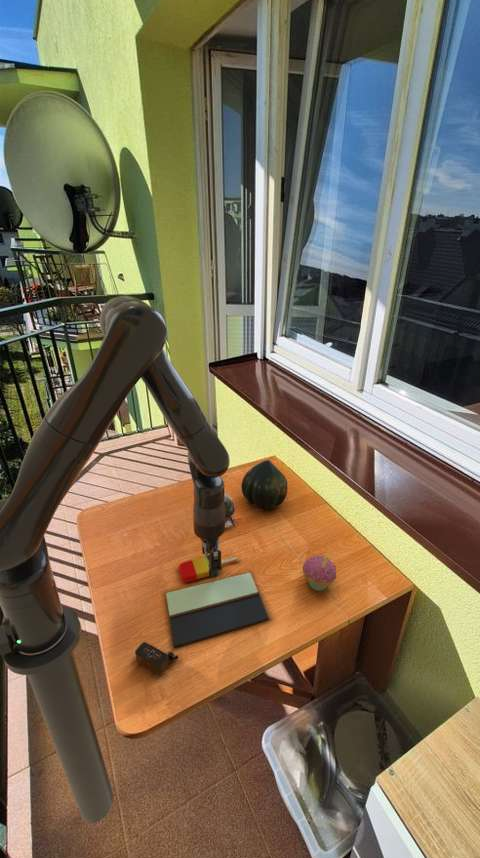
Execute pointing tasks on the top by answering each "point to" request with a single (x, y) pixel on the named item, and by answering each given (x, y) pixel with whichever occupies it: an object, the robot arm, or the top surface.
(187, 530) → the top surface
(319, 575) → the cupcake
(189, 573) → the popsicle
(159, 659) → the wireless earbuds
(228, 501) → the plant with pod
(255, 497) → the squash
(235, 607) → the sorting mat
